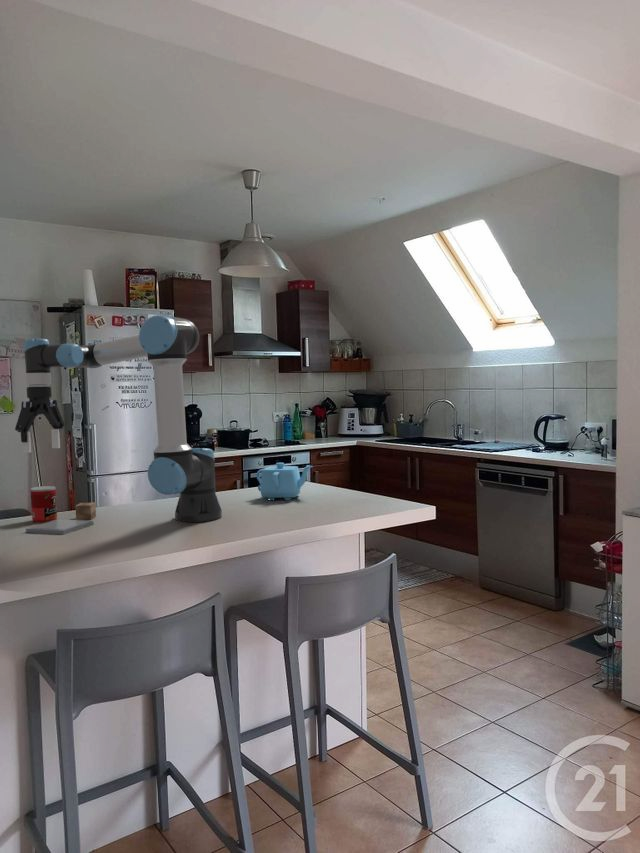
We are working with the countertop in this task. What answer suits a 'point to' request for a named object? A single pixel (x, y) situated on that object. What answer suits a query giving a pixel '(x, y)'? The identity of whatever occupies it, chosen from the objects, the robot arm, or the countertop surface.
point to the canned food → (43, 504)
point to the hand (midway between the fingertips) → (42, 450)
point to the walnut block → (85, 511)
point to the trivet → (59, 526)
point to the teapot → (281, 481)
